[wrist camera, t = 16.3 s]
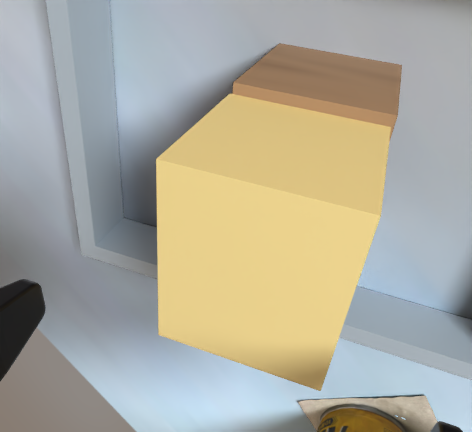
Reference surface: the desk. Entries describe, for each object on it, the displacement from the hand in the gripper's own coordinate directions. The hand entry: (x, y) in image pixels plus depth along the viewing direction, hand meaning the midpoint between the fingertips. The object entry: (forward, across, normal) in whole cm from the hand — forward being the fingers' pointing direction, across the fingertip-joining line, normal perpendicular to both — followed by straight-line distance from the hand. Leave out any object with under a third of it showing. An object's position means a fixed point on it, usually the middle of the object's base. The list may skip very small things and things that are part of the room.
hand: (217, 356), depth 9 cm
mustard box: (+7, 0, 0) cm, 7 cm away
